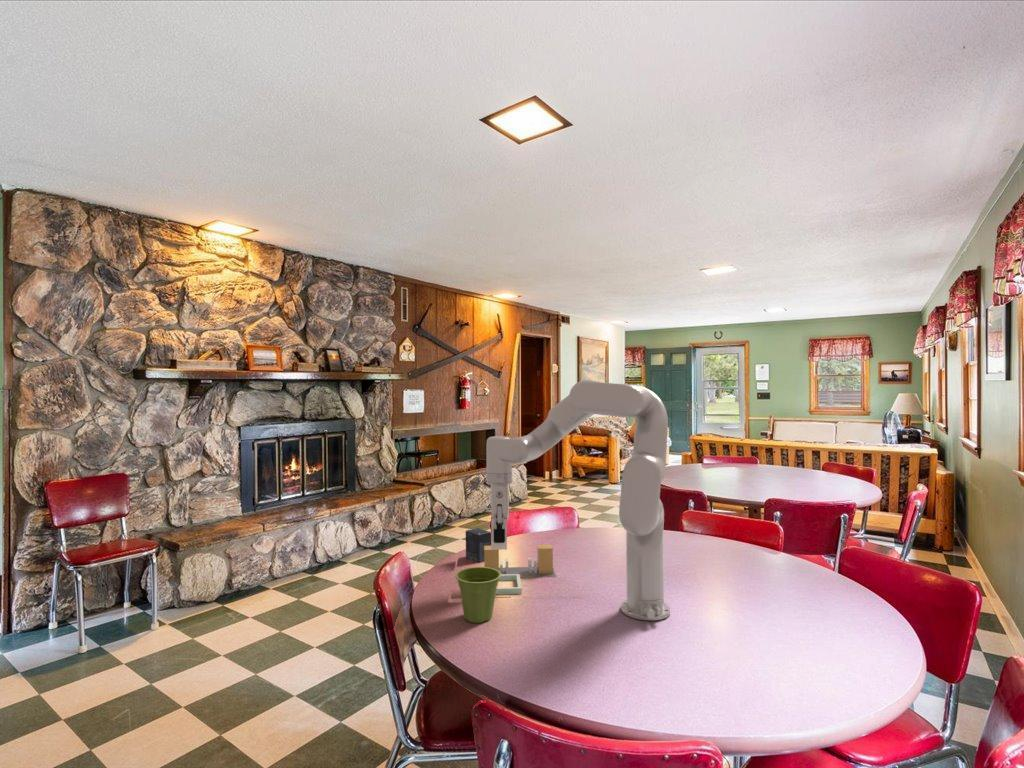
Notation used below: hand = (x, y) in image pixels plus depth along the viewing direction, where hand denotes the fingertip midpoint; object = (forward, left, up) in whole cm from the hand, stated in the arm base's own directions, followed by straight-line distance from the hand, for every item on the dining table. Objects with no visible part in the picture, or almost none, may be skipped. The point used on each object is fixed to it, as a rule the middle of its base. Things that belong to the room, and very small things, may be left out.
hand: (499, 539), depth 158 cm
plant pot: (-19, +6, -15) cm, 25 cm away
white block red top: (0, 0, -2) cm, 2 cm away
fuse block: (+12, -6, -15) cm, 20 cm away
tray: (0, 0, -15) cm, 15 cm away
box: (+27, +7, -15) cm, 32 cm away
